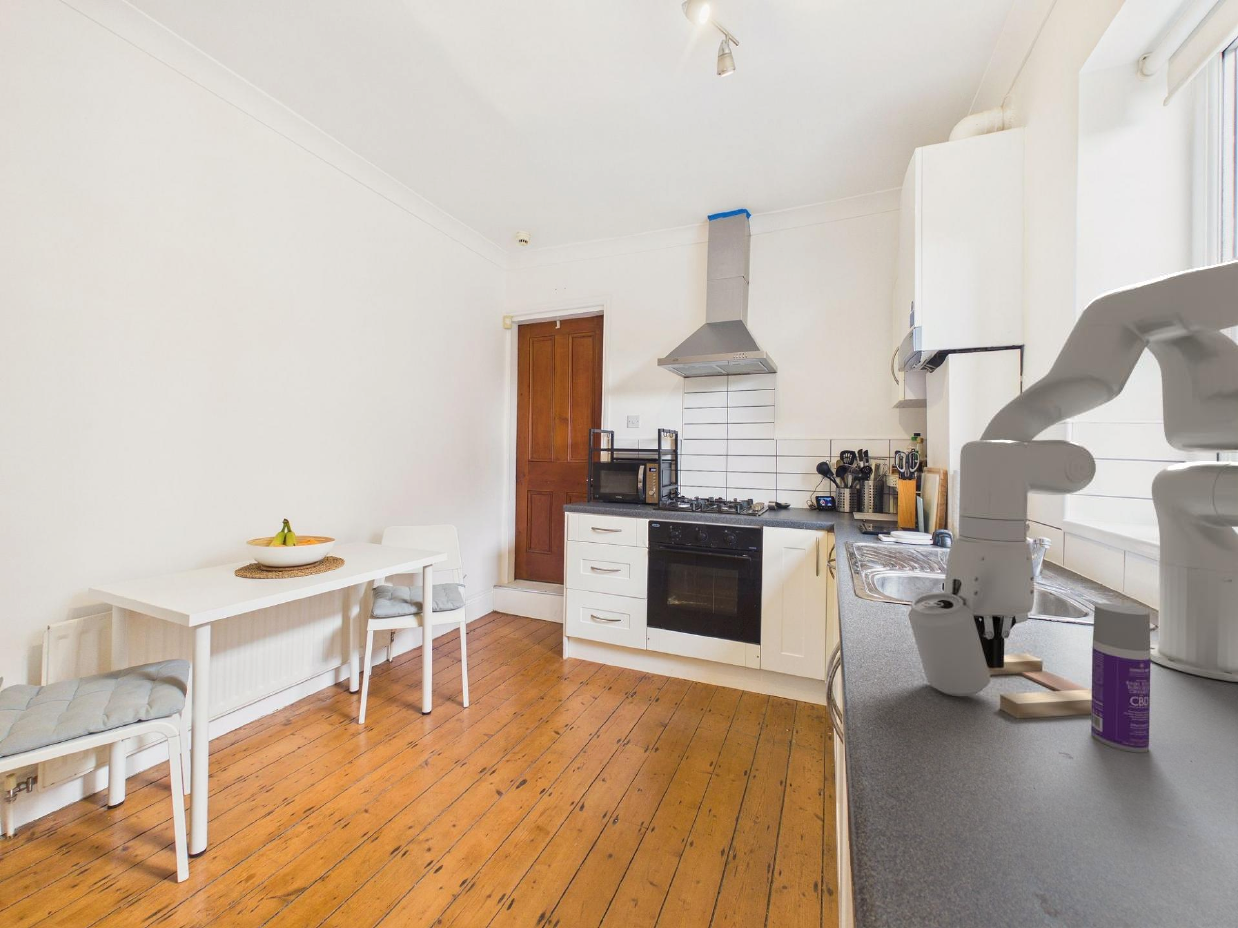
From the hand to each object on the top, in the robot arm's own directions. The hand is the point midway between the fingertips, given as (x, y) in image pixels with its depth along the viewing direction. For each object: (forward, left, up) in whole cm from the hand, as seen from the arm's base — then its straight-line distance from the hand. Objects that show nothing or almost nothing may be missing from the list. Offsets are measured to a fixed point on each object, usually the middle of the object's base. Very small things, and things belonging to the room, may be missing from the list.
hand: (988, 664), depth 70 cm
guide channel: (-5, 0, -4) cm, 6 cm away
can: (+4, 0, -3) cm, 5 cm away
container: (-4, +13, -4) cm, 14 cm away
